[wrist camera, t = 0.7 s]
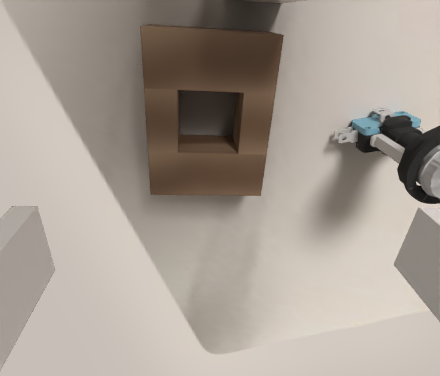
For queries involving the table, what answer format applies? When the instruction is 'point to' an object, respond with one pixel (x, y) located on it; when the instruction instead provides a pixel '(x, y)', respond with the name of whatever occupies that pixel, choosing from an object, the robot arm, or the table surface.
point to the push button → (401, 149)
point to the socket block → (208, 81)
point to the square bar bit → (275, 1)
